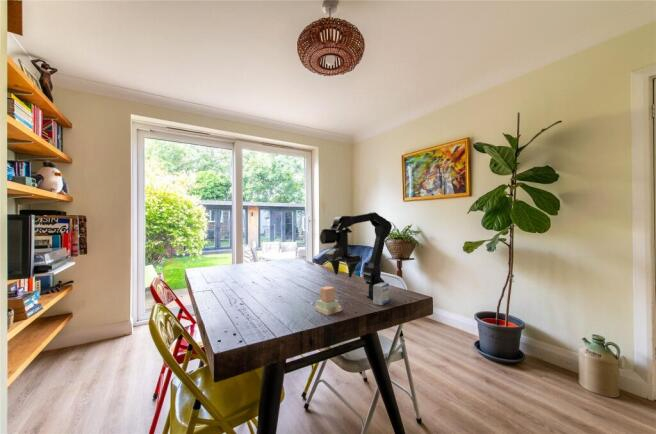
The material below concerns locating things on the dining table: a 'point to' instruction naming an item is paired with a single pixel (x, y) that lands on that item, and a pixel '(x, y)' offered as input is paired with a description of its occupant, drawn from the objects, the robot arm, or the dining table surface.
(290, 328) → the dining table surface
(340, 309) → the maple slab
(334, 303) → the sage slab
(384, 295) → the medicine box
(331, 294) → the terracotta block
